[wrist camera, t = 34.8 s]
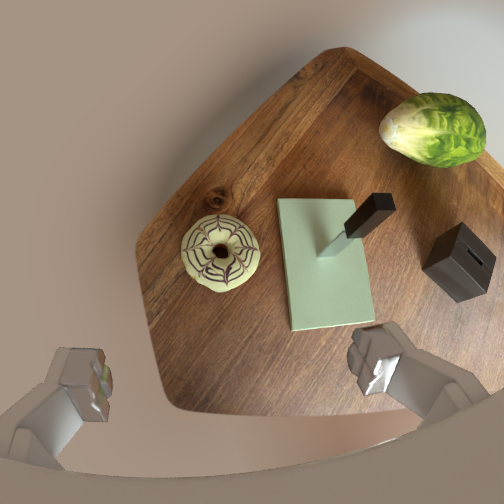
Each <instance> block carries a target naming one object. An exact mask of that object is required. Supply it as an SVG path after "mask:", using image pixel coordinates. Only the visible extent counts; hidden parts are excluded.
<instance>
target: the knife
mask: <svg viewBox="0 0 504 504" xmlns="http://www.w3.org/2000/svg"><path fill="white" fill-rule="evenodd" d="M395 211H396V208H395V204H394V201H393V197H392V194H391V193H372V194H371V195H370V196H369V197H368V198H367V199H366V200H365V202H364V203H363V204H362V205H361V206H360V207H359V208H358V209H357V210H356V211H355V212H354V213H353V214H352V215H351V216H350V218H349V219H348V220H347V221H346V222H345V223H344V228H345V230H342V231H341V232H340V233H339V234H338V235H337V236H336V238H335V239H334V240H333V241H331V242H330V243H329V244H328V245H327V246H326V247H325V248H324V249H323V250H322V251H321V252H320V253H319V254H318V255H317V258H321V257H335V256H337V255H338V254H339V253H340V252H341V251H342V250H344V249H345V248H346V247H347V246H348V245H349V244H351V243H352V242H353V241H354V240H355V239H356V238H364V237H365V236H367V235H368V234H369V233H370V232H371V231H373V230H374V229H375V228H376V227H377V226H378V225H380V224H381V223H382V222H383V221H384V220H385V219H387V218H388V217H389V216H390V215H391V214H392V213H394V212H395Z"/></svg>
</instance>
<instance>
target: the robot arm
mask: <svg viewBox="0 0 504 504" xmlns="http://www.w3.org/2000/svg"><path fill="white" fill-rule="evenodd" d="M351 338H352V339H353V341H354V342H353V343H352V344H351V345H350V347H349V348H348V352H347V363H348V366H349V369H350V371H351V373H353V374H354V375H356V376H358V380H357V384H358V385H359V387H360V389H361V391H362V393H363V395H364V396H367V395H371V394H375V393H380V392H384V391H386V393H387V394H389V395H390V396H391V397H393V398H394V399H396V400H397V401H399V402H400V403H401V404H403V405H404V406H406V407H407V408H409V409H410V410H411V411H413V412H414V413H416V414H417V415H419V416H420V417H421V418H423V420H422V422H421V423H420V425H419V426H418V428H417V430H415V431H412V432H410V433H407V434H404V435H402V436H399V437H396V438H393V439H390V440H388V441H385V442H382V443H379V444H376V445H372V446H369V447H366V448H363V449H360V450H356V451H352V452H349V453H345V454H341V455H337V456H334V457H330V458H325V459H321V460H317V461H313V462H308V463H303V464H298V465H293V466H287V467H282V468H276V469H270V470H263V471H256V472H249V473H240V474H230V475H219V476H206V477H185V478H141V477H120V476H108V475H97V474H88V473H79V472H73V471H66V470H65V469H64V468H63V467H62V466H61V465H60V464H59V463H58V461H57V460H56V459H55V458H56V457H57V455H58V454H59V453H60V452H61V450H62V449H63V448H64V447H65V445H66V444H67V443H68V442H69V440H70V439H71V438H72V437H73V435H74V434H75V433H76V432H77V430H78V429H79V428H80V427H81V425H82V424H83V423H84V422H83V421H88V422H108V414H109V408H110V405H109V403H108V401H107V399H108V398H109V397H110V396H111V395H112V389H113V385H112V376H111V371H110V369H109V367H108V366H106V365H105V364H104V363H105V355H104V352H103V350H101V349H91V348H64V347H59V348H58V349H57V350H56V352H55V355H54V357H53V360H52V362H51V365H50V368H49V371H48V373H47V376H46V379H45V381H44V383H40V384H38V385H37V386H36V387H35V388H33V389H32V390H31V391H30V392H29V393H27V394H26V395H25V396H24V397H23V398H21V399H20V400H19V401H18V402H17V403H15V404H14V405H13V406H12V407H10V408H9V409H8V410H7V411H6V412H5V413H3V414H2V415H1V416H0V504H504V388H502V389H501V390H499V391H497V392H495V393H494V394H492V395H490V394H489V393H488V392H487V391H486V389H485V388H484V387H483V385H482V384H481V383H480V382H479V380H478V379H477V378H476V377H475V375H474V374H473V373H471V372H469V371H467V370H465V369H463V368H460V367H458V366H456V365H454V364H452V363H450V362H448V361H446V360H443V359H441V358H439V357H437V356H435V355H433V354H431V353H429V352H427V351H424V350H422V349H417V348H416V347H415V346H414V344H413V343H412V342H411V340H410V339H409V338H408V337H407V335H406V334H405V333H404V332H403V330H402V329H401V328H400V327H399V325H398V324H397V323H396V322H394V321H392V322H387V323H382V324H377V325H372V326H366V327H361V328H356V329H355V330H354V331H353V334H352V337H351Z"/></svg>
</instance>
